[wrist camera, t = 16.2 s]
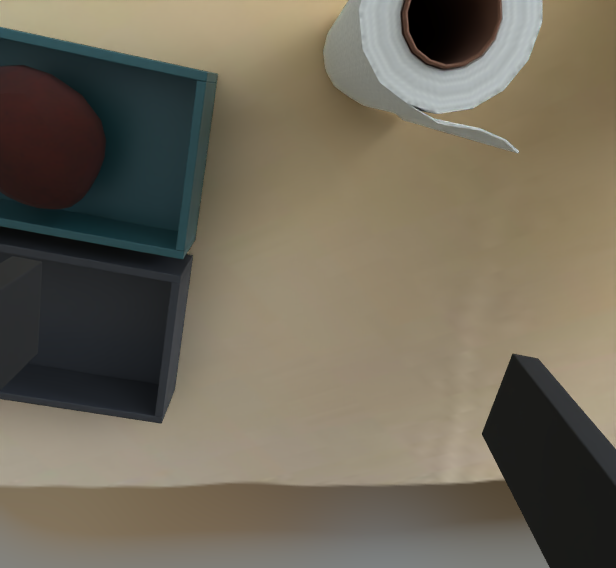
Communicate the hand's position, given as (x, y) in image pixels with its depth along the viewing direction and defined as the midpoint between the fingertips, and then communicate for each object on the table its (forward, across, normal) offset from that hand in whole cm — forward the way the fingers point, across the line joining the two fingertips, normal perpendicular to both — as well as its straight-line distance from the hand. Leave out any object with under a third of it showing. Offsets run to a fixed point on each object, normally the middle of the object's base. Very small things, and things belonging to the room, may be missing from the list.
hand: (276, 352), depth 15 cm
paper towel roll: (+27, +3, +9) cm, 29 cm away
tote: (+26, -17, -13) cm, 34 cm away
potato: (+26, -17, 0) cm, 31 cm away
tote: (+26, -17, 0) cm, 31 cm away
